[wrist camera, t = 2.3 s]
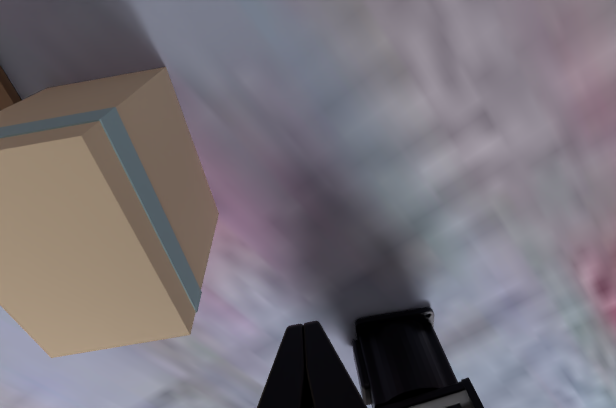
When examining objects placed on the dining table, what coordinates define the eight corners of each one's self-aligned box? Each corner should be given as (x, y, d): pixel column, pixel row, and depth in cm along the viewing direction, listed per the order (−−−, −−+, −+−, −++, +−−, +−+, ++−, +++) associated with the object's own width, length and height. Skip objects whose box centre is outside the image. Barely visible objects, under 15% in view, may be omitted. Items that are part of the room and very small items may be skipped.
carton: (166, 65, 17) (82, 133, 10) (219, 214, 22) (191, 335, 15) (46, 86, 17) (-132, 171, 10) (126, 230, 22) (50, 358, 15)
